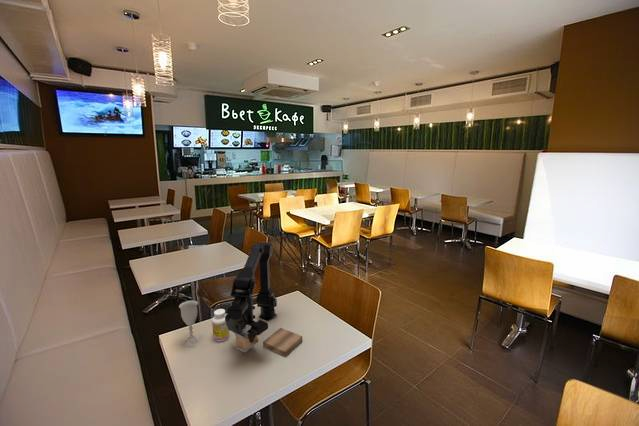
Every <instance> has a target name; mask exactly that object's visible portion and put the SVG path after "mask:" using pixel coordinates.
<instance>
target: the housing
mask: <svg viewBox="0 0 639 426" xmlns="http://www.w3.org/2000/svg"><path fill="white" fill-rule="evenodd" d="M250 328H251V326H247V325H245V327H244V329H243V330H242V331H240V330H239V331H238V332H237V333H234V336H235V345H234V346H235V347H234V348H235V349H236V350H238V351H241V352H243V353H246V352H248V351H249V350H250V349H251V348H252V347H254V346H256V344H257V343H259V337H258V335H256V337H255V339H254V341H253V343H250V335H249V333H248V332H247V331H248V330H250Z"/></svg>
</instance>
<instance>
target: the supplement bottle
mask: <svg viewBox="0 0 639 426" xmlns="http://www.w3.org/2000/svg"><path fill="white" fill-rule="evenodd" d="M226 314H227V313H226V310H225V309H224V308H217V309H216V310H214V311H213V317H212V319H211V323H212V325H211V327H212V338H213V340H214V341H215V342H218V343H220V342H225V341H226V340H227V339H229V337H230V331H229V329H228V327H227V325H226V323H227V322H225V316H226Z"/></svg>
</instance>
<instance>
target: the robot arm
mask: <svg viewBox="0 0 639 426" xmlns="http://www.w3.org/2000/svg"><path fill="white" fill-rule="evenodd" d="M273 252H274V245H273V244H272V243H271V242H269V241H268V242H265V241H257V242H256V243H254V244H253V243H252V244H251V246H250V251H249V254H248V256H247V259H246V261H245V262H246V263H244V266H243V269H241V270H240V271H238V272H237V274H236V275H235V278H234V279H233V281H232V282H233V283H232V286H231V287H232V288H231V291H230V297H232V298H234V299H233V300H232V301H231V304H230V305H229V306H228V307H227V311H226V313H225V314H226V316H225V322H227V323H226V325H227V327H228V329H229V332H232V333H233V334H235V333H237V332H238V331H239V330H240V331H242V330H243V329H244V327H245V325H247V326H251V328H250V330H248V331H247V332H248V333H249V335H250V343H253V341H254V339H255V337H256V335H257V336H260V335H261V334H262V333H264V332H266V331H267V330H268V329H269V323H268V322H269V321H271V320H272V319H273V318H275V317H276V316H277V314H276V313H275V312H276V310H275V308H276V307H277V306H278V300H277V298H276V296H275V293H274V290H273V288H271V282H270V281H271V279H270V278H271V277H270V258H271V257H272V255H273ZM257 267H258V269H259V288H260V290H258V293H257V295H256V298H255V299H256V300H255V301H256V306H257V308H259V309H260V315H259V316H258V319H259V320H256V321H255V320H254V319H256V315H255V314H254V310H255V309H256V306H255V305H254V302H253V295H254V293H255V288H256V278H255V272H256V270H257Z"/></svg>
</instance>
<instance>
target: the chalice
mask: <svg viewBox="0 0 639 426" xmlns="http://www.w3.org/2000/svg"><path fill="white" fill-rule="evenodd" d="M198 303H199V302H198V301H197V300H185V301H184V302H181V303H180V304H179V306H178V308H179V309H180V317H181V319H182V321H183V323H185V324H186V326H189V327H188V330H189V332H188V334H189V336H188V338H186V342H185V346H186V347H193V346H196V345H197V344H198V343H199V339H198V338H197V337H196V336H195V335H193V333H194V331H193V325H194V324H195V322H196V319H197V317H198Z"/></svg>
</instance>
